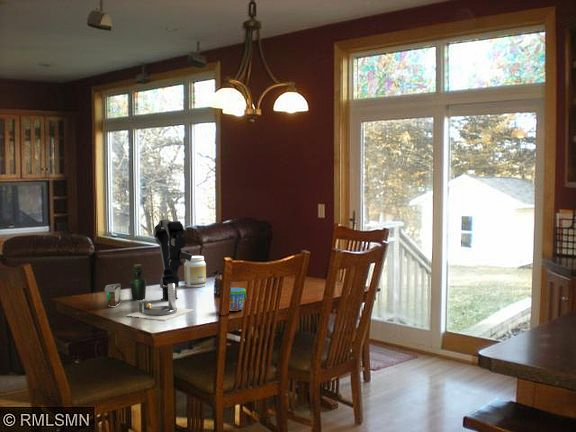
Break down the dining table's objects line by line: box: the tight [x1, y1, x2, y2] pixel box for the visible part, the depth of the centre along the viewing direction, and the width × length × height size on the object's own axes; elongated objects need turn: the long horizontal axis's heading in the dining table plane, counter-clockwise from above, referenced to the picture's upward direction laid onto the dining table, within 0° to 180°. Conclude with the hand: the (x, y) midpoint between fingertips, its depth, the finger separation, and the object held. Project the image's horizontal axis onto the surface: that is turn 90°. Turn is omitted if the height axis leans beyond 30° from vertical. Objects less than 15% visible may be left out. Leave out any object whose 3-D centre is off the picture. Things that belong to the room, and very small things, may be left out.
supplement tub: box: [183, 255, 207, 289], centre depth 370 cm, size 12×12×17 cm
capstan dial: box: [143, 283, 178, 315], centre depth 299 cm, size 15×15×13 cm
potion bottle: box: [129, 263, 147, 301], centre depth 333 cm, size 8×8×18 cm
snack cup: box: [230, 287, 247, 310], centre depth 303 cm, size 16×10×10 cm
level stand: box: [125, 299, 195, 322], centre depth 299 cm, size 22×22×5 cm
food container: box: [104, 283, 122, 306], centre depth 318 cm, size 12×6×10 cm, turn 1°
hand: (175, 277), depth 320 cm, fingers closed
